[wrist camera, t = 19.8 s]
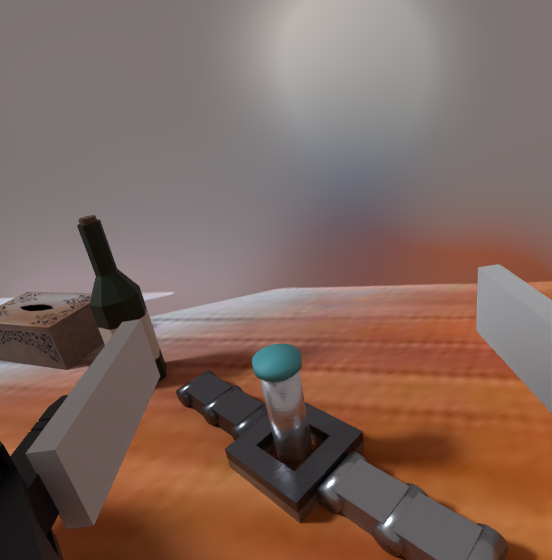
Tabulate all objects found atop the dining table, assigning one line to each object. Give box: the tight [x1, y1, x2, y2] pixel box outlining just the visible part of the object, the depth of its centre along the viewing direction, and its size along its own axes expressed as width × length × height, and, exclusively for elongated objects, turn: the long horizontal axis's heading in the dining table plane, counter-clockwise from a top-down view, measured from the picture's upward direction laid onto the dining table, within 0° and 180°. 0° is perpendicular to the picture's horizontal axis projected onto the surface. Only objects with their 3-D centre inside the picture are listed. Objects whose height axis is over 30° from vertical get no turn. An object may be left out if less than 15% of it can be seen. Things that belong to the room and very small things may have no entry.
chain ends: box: [176, 370, 508, 560], centre depth 49 cm, size 12×46×3 cm, turn 45°
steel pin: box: [252, 344, 314, 472], centre depth 47 cm, size 5×5×15 cm
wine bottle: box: [77, 215, 166, 383], centre depth 67 cm, size 8×8×30 cm
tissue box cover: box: [0, 292, 104, 370], centre depth 89 cm, size 26×14×10 cm, turn 68°
